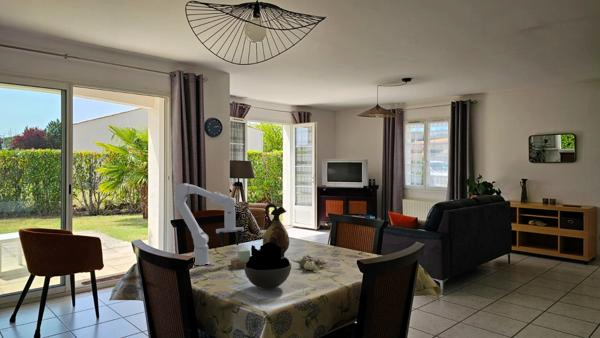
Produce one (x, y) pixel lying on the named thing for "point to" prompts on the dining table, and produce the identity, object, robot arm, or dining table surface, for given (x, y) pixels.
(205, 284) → the dining table surface
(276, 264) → the coal bowl
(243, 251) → the cube
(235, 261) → the base block
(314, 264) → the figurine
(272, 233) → the ceramic jug
